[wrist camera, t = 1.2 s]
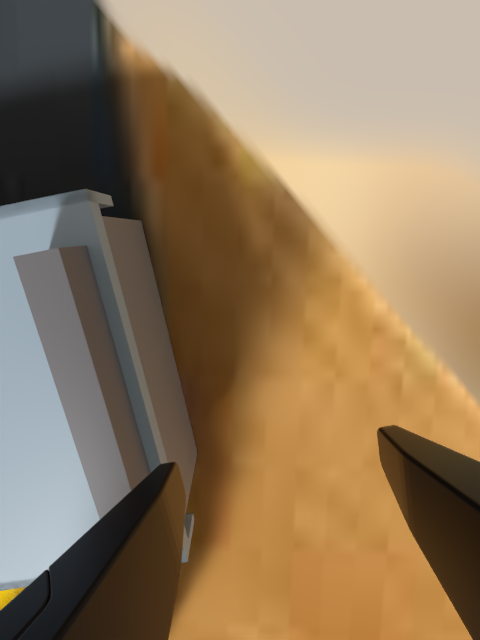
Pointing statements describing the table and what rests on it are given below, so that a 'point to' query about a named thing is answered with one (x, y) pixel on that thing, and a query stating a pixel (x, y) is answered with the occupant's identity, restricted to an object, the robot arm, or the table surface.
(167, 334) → the open gray box
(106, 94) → the table surface
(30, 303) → the lid
